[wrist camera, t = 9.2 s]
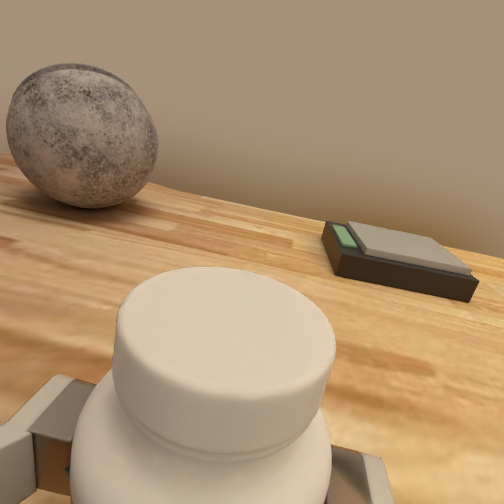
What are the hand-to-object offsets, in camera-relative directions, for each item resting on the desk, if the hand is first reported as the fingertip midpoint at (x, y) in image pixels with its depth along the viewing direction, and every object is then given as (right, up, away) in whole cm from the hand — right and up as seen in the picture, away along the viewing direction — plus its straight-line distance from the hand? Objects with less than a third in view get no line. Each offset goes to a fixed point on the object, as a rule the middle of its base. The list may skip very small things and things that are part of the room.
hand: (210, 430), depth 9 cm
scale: (+17, +3, +31) cm, 35 cm away
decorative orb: (-18, +10, +31) cm, 37 cm away
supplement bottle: (-1, -6, +1) cm, 6 cm away
